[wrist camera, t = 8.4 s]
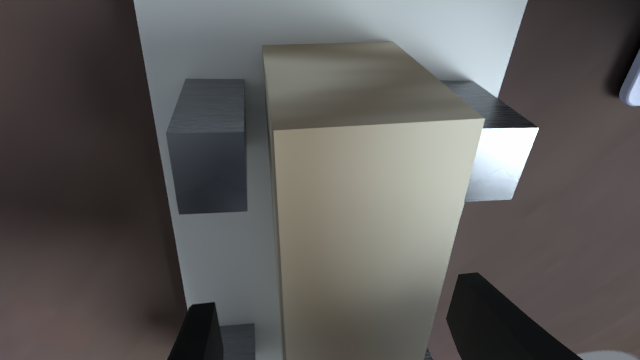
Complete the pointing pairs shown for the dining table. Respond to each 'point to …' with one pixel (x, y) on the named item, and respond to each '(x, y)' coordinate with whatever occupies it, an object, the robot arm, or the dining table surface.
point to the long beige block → (362, 196)
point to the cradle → (252, 137)
